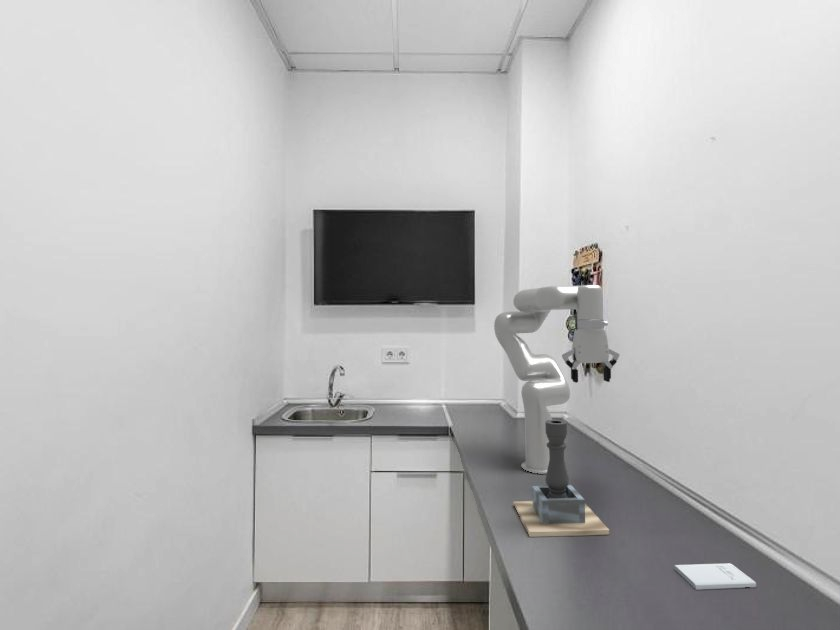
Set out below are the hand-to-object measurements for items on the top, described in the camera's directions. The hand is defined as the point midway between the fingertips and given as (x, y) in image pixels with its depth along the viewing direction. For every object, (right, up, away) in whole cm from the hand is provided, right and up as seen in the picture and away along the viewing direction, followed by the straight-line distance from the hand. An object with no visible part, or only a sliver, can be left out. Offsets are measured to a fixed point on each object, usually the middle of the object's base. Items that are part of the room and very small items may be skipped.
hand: (591, 381), depth 153 cm
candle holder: (-15, -34, -18) cm, 41 cm away
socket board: (-15, -35, -18) cm, 42 cm away
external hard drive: (+9, -35, -48) cm, 61 cm away
